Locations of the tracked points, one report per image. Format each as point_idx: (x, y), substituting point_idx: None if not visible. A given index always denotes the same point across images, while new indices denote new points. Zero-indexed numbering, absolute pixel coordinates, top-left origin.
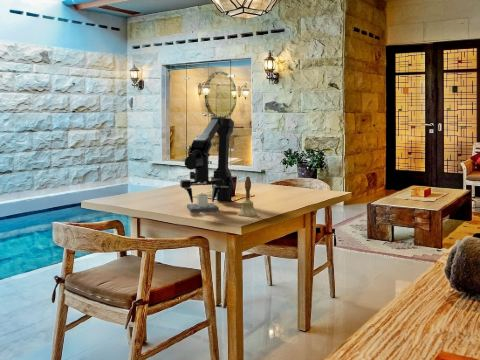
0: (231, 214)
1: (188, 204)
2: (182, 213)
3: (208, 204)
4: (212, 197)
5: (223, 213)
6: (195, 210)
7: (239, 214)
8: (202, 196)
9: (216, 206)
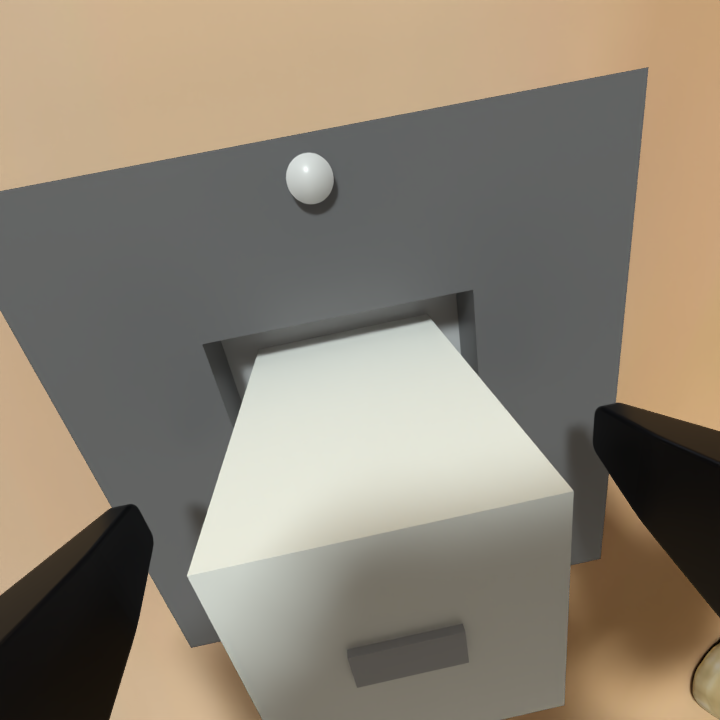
0: (646, 657)
1: (1, 239)
2: None
3: (497, 283)
4: (679, 517)
5: (586, 625)
6: None
7: (702, 703)
8: (400, 716)
9: (595, 485)
